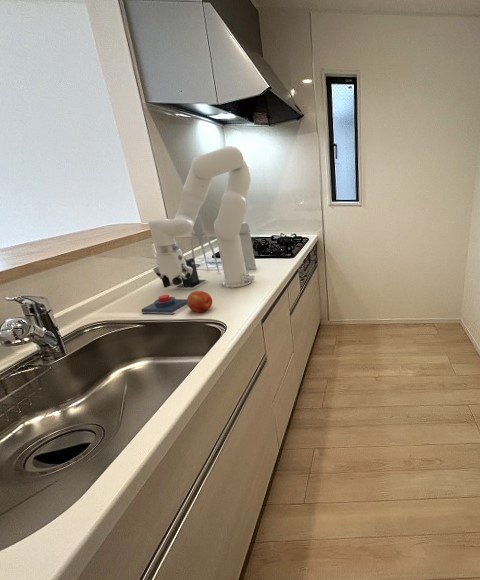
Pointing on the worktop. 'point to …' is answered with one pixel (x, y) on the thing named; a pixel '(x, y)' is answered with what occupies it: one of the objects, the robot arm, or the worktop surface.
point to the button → (164, 298)
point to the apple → (199, 301)
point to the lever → (177, 279)
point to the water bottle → (247, 247)
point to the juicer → (200, 234)
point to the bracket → (194, 276)
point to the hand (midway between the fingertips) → (177, 286)
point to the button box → (165, 306)
